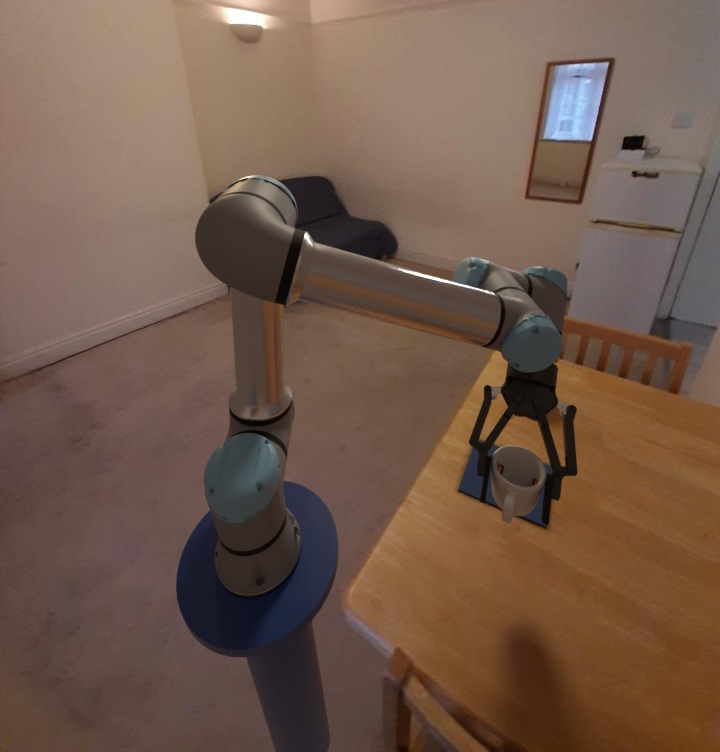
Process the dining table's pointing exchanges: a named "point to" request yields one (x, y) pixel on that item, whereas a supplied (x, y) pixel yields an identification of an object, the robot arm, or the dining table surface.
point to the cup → (516, 480)
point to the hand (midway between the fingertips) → (512, 511)
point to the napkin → (473, 485)
